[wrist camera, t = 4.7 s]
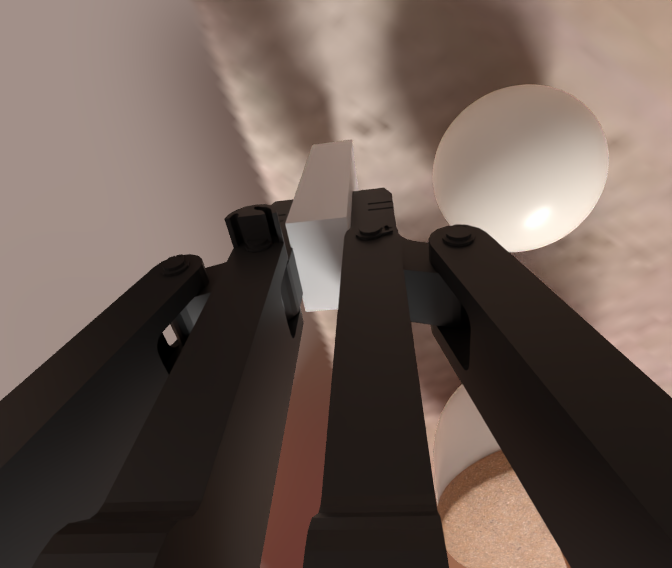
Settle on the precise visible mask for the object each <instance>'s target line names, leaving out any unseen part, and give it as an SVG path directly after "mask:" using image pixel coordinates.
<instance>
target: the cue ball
mask: <svg viewBox="0 0 672 568" xmlns="http://www.w3.org/2000/svg"><path fill="white" fill-rule="evenodd" d="M608 166H609V151H608V145H607V141H606V137H605V134H604V131H603V129H602V127H601V124H600V123H599V121H598V120H597V118H596V117H595V115H594V114H593V113H592V111H591V110H590V109H589V108H588V107H587V106H586V105H585V104H584V103H583V102H581V101H580V100H578V99H577V98H576V97H574V96H573V95H571V94H569V93H567V92H565V91H563V90H560V89H557V88H553V87H550V86H545V85H537V84H523V85H516V86H509V87H505V88H502V89H498V90H496V91H493V92H491V93H489V94H486V95H485V96H483V97H481V98H479V99H478V100H476V101H475V102H473V103H472V104H471V105H469V106H468V107H467V108H466V109H464V110H463V111H462V112H461V113H460V114H459V115H458V116H457V117H456V118H455V120H454V121H453V122H452V123H451V124H450V126H449V127H448V129H447V130H446V132H445V134H444V135H443V137H442V139H441V141H440V143H439V146H438V149H437V151H436V155H435V159H434V165H433V174H432V176H433V188H434V194H435V198H436V201H437V204H438V207H439V209H440V211H441V213H442V214H443V216H444V218H445V219H446V220H447V222H448V223H449V225H450V226H453V225H455V224H461V225H463V224H465V225H470V226H473V227H477V228H480V229H482V230H483V231H485V232H487V233H488V234H489V235H490V236H491V237H492V238H493V239H495V240H496V241H497V242H498V243H499V244H500V245H501V246H502V247H504V248H505V249H506V250H507V251H508V252H522V251H528V250H533V249H537V248H540V247H544V246H547V245H549V244H551V243H554V242H556V241H557V240H559V239H561V238H563V237H564V236H566V235H567V234H569V233H570V232H572V231H573V230H574V229H575V228H576V227H578V226H579V225H580V224H581V223H582V222H583V221H584V220H585V219H586V217H587V216H588V215H589V214H590V212H591V211H592V210H593V208H594V206H595V205H596V203H597V202H598V200H599V198H600V196H601V194H602V192H603V189H604V186H605V183H606V179H607V175H608Z"/></svg>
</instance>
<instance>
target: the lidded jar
mask: <svg viewBox="0 0 672 568" xmlns="http://www.w3.org/2000/svg"><path fill="white" fill-rule="evenodd" d="M433 470H434V485H435V493H436V500H437V510H438V513H439V514H440V517H441V522H442V527H443V532H444V539H445V545H446V550H447V552H449V554H450V555H451V556H452V557H453V558H454V559H455V560H456V561H457V562H459V563H460V564H462V565H464V566H465V567H467V568H571V567H570V565H569V563H568V562H567V560H566V558H565V557H564V555H563V553H562V552H561V550H560V548H559V546H558V545H557V543H556V541H555V540H554V538H553V536H552V535H551V533H550V531H549V530H548V528H547V526H546V525H545V523H544V521H543V519H542V518H541V516H540V514H539V513H538V511H537V509H536V508H535V506H534V504H533V503H532V501H531V499H530V497H529V496H528V494H527V492H526V491H525V489H524V487H523V486H522V484H521V482H520V481H519V479H518V477H517V475H516V474H515V472H514V470H513V469H512V467H511V465H510V464H509V462H508V460H507V459H506V457H505V455H504V453H503V452H502V450H501V448H500V447H499V445H498V443H497V442H496V440H495V438H494V437H493V435H492V433H491V432H490V430H489V428H488V426H487V425H486V423H485V421H484V420H483V418H482V416H481V415H480V413H479V411H478V410H477V408H476V406H475V404H474V403H473V401H472V399H471V398H470V396H469V394H468V393H467V391H466V389H465V388H464V386H463V384H461V385H460V386H459V387H458V388H457V389H456V391H455V392H454V393H453V394H452V396H451V397H450V398H449V400H448V401H447V403H446V405H445V407H444V409H443V411H442V413H441V415H440V418H439V421H438V425H437V428H436V432H435V438H434V448H433Z"/></svg>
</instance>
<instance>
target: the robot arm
mask: <svg viewBox="0 0 672 568" xmlns="http://www.w3.org/2000/svg"><path fill="white" fill-rule="evenodd" d="M225 222H226V225H227V228H228V231H229V235H230V238H231V240H232V244H233V247H234V249H233V250H232V253H231V254H230V256H229V258H228V260H227V262H225V263H222V264H219V265H215V266H211V267H207V268H205V266H204V263H203V261H202V259H201V258H200V257H199V256H196V255H191V254H189V255H177V256H176V257H175V256H173V257H170V258H168V259H167V260H165V261H163V262H161V263H159V264H158V265H157V266H155V267H154V268H152V269H151V270H150V271H149V272H148V273H147V274H146V275H144V276H143V277H142V278H141V279H140V280H139V281H138V282H136V283H135V284H134V285H133V286H132V287H131V288H129V289H128V290H127V291H126V292H125V293H124V294H123V295H121V296H120V297H119V298H118V299H117V300H116V301H115V302H113V303H112V304H111V305H110V306H109V307H108V308H107V309H105V310H104V311H103V312H102V313H101V314H100V315H99V316H97V317H96V318H95V319H94V320H93V321H92V322H90V323H89V324H88V325H87V326H86V327H85V328H84V329H82V330H81V331H80V332H79V333H78V334H77V335H76V336H74V337H73V338H72V339H71V340H70V341H69V342H67V343H66V344H65V345H64V346H63V347H62V348H61V349H59V350H58V351H57V352H56V353H55V354H54V355H53V356H52V357H50V358H49V359H48V360H47V361H46V362H45V363H43V364H42V365H41V366H40V367H39V368H38V369H36V370H35V371H34V372H33V373H32V374H31V375H30V376H29V377H27V378H26V379H25V380H24V381H23V382H22V383H21V384H19V385H18V386H17V387H16V388H15V389H14V390H12V391H11V392H10V393H9V394H8V395H7V396H5V397H4V398H3V399H2V400H1V401H0V568H260V563H261V556H262V551H263V546H264V540H265V535H266V529H267V524H268V518H269V513H270V507H271V501H272V496H273V490H274V485H275V479H276V473H277V468H278V463H279V457H280V451H281V446H282V440H283V435H284V429H285V424H286V418H287V412H288V407H289V401H290V396H291V390H292V385H293V379H294V373H295V368H296V362H297V357H298V351H299V346H300V340H301V334H302V329H303V317H302V313H301V308H300V306H301V301H302V298H303V302H304V306H305V310H306V312H309V311H322V310H334V309H338V314H337V325H336V337H335V349H334V360H333V372H332V383H331V396H330V406H329V418H328V429H327V441H326V452H325V465H324V475H323V487H322V498H321V505H320V510H319V513H318V514H317V515H315V516H314V517H312V520H311V522H310V526H309V529H308V534H307V540H306V546H305V554H304V563H303V568H449V565H448V558H447V553H446V552H447V551H446V545H445V539H444V532H443V527H442V522H441V517H440V514H439V513H438V510H437V505H436V499H435V492H434V485H433V478H432V470H431V463H430V456H429V449H428V442H427V435H426V427H425V420H424V413H423V406H422V399H421V392H420V384H419V377H418V370H417V363H416V356H415V349H414V342H413V334H412V327H411V322H416V323H423V324H430V325H431V330H432V333H433V335H434V337H435V339H436V340H437V342H438V344H439V345H440V347H441V349H442V350H443V352H444V354H445V355H446V357H447V359H448V360H449V362H450V364H451V366H452V367H453V369H454V371H455V372H456V374H457V376H458V377H459V379H460V381H461V382H462V384H463V386H464V388H465V389H466V391H467V393H468V394H469V396H470V398H471V399H472V401H473V403H474V404H475V406H476V408H477V410H478V411H479V413H480V415H481V416H482V418H483V420H484V421H485V423H486V425H487V426H488V428H489V430H490V432H491V433H492V435H493V437H494V438H495V440H496V442H497V443H498V445H499V447H500V448H501V450H502V452H503V453H504V455H505V457H506V459H507V460H508V462H509V464H510V465H511V467H512V469H513V470H514V472H515V474H516V475H517V477H518V479H519V481H520V482H521V484H522V486H523V487H524V489H525V491H526V492H527V494H528V496H529V497H530V499H531V501H532V503H533V504H534V506H535V508H536V509H537V511H538V513H539V514H540V516H541V518H542V519H543V521H544V523H545V525H546V526H547V528H548V530H549V531H550V533H551V535H552V536H553V538H554V540H555V541H556V543H557V545H558V546H559V548H560V550H561V552H562V553H563V555H564V557H565V558H566V560H567V562H568V563H569V565H570V567H571V568H672V398H671V397H670V396H669V395H668V394H667V393H666V392H665V391H663V390H662V389H661V388H660V387H659V386H658V385H657V384H656V383H655V382H653V381H652V380H651V379H650V378H649V377H648V376H647V375H646V374H644V373H643V372H642V371H641V370H640V369H639V368H638V367H637V366H636V365H634V364H633V363H632V362H631V361H630V360H629V359H628V358H627V357H625V356H624V355H623V354H622V353H621V352H620V351H619V350H618V349H616V348H615V347H614V346H613V345H612V344H611V343H610V342H609V341H608V340H606V339H605V338H604V337H603V336H602V335H601V334H600V333H599V332H597V331H596V330H595V329H594V328H593V327H592V326H591V325H590V324H589V323H587V322H586V321H585V320H584V319H583V318H582V317H581V316H580V315H578V314H577V313H576V312H575V311H574V310H573V309H572V308H571V307H570V306H568V305H567V304H566V303H565V302H564V301H563V300H562V299H561V298H559V297H558V296H557V295H556V294H555V293H554V292H553V291H552V290H550V289H549V288H548V287H547V286H546V285H545V284H544V283H543V282H542V281H540V280H539V279H538V278H537V277H536V276H535V275H534V274H533V273H531V272H530V271H529V270H528V269H527V268H526V267H525V266H524V265H523V264H521V263H520V262H519V261H518V260H517V259H516V258H515V257H514V256H512V255H511V254H510V253H509V252H508V251H507V250H506V249H505V248H504V247H502V246H501V245H500V244H499V243H498V242H497V241H496V240H495V239H493V238H492V237H491V236H490V235H489V234H488V233H487V232H485V231H483V230H482V229H480V228H477V227H473V226H470V225H465V224H463V225H461V224H455V225H453V226H446V227H443V228H440V229H437V230H436V231H434V232H433V233H432V234H431V235H430V237H429V243H425V242H416V241H411V240H408V239H405V238H403V237H402V236H400V235H399V234H398V230H397V228H396V222H395V215H394V208H393V201H392V194H391V193H390V192H389V191H388V190H386V189H385V188H377V189H369V190H360V191H359V190H358V181H357V173H356V165H355V157H354V148H353V140H345V141H337V142H330V143H322V144H314V145H312V147H311V150H310V153H309V156H308V159H307V162H306V165H305V168H304V171H303V173H302V176H301V179H300V182H299V185H298V188H297V191H296V194H295V197H294V200H285V201H277V202H274V203H273V204H272V205H266V204H263V205H262V204H261V205H252V206H247V207H243V208H241V209H238V210H236V211H234V212H232V213H230V214H229V215H228V216H227V217H226V218H225ZM169 324H170V325H171V327H172V329H173V331H174V333H175V335H176V337H177V340H176V341H175V342H174V343H173V344H172V345H171V346H170V345H168V343H167V341H166V339H165V337H164V335H163V333H162V332H163V331H164V330H165V328H166V327H168V325H169Z"/></svg>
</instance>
